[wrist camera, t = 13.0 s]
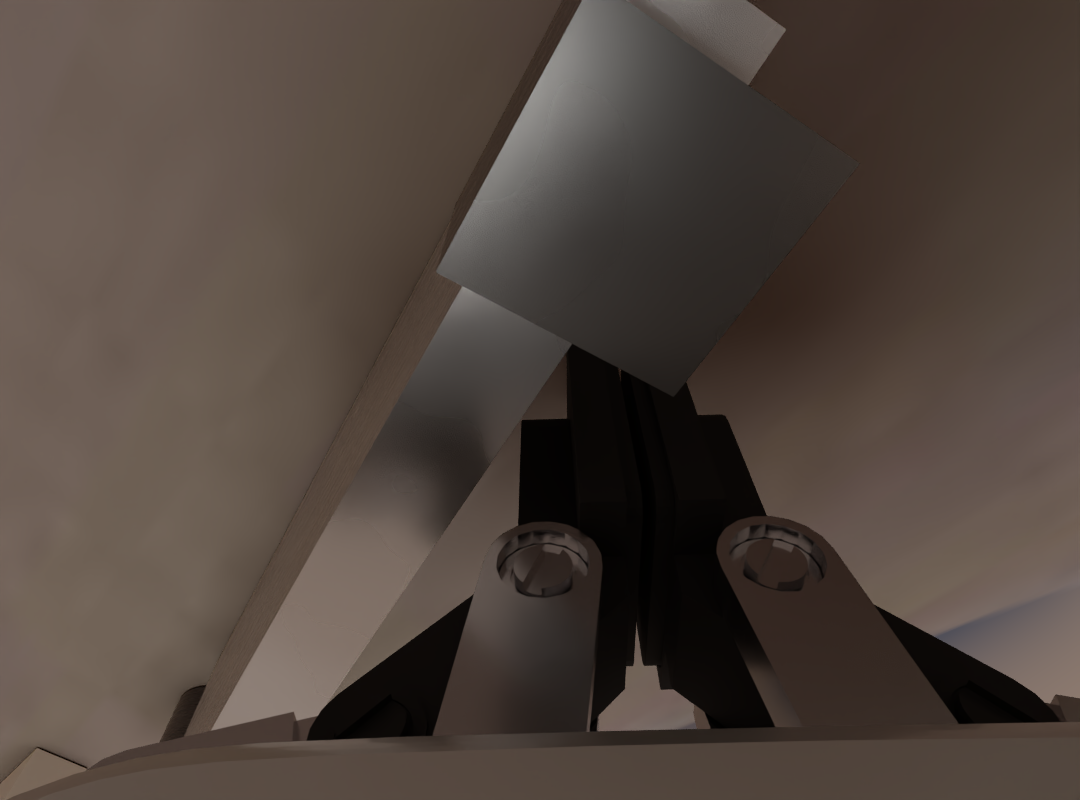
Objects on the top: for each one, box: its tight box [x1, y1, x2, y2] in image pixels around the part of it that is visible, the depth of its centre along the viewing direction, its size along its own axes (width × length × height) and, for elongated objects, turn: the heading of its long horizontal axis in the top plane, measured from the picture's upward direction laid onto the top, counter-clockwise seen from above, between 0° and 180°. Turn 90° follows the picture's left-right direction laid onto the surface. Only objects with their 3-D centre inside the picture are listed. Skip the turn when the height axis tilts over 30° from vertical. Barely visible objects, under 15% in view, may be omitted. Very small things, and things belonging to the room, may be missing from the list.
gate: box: [184, 0, 860, 737], centre depth 11 cm, size 18×2×8 cm, turn 150°
